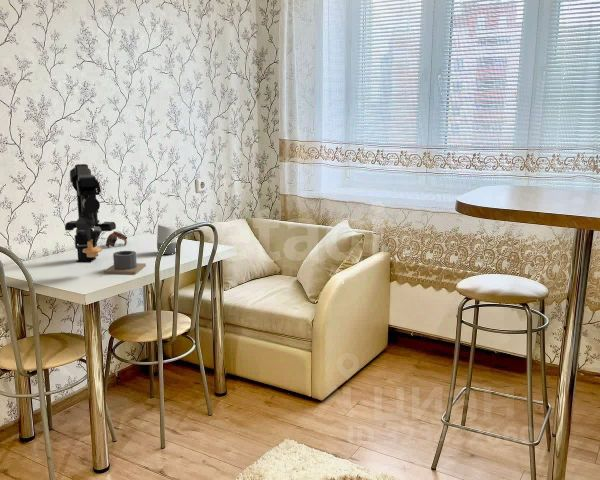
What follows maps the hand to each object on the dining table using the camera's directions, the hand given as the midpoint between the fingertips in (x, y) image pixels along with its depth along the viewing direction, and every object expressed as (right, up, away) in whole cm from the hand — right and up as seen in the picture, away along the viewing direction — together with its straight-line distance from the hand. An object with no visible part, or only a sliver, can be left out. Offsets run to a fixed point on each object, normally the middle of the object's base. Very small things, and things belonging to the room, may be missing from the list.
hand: (92, 247), depth 238 cm
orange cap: (0, -4, +1) cm, 4 cm away
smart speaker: (+21, -4, +40) cm, 45 cm away
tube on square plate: (+10, -10, +11) cm, 18 cm away
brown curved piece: (-7, 0, +54) cm, 55 cm away
